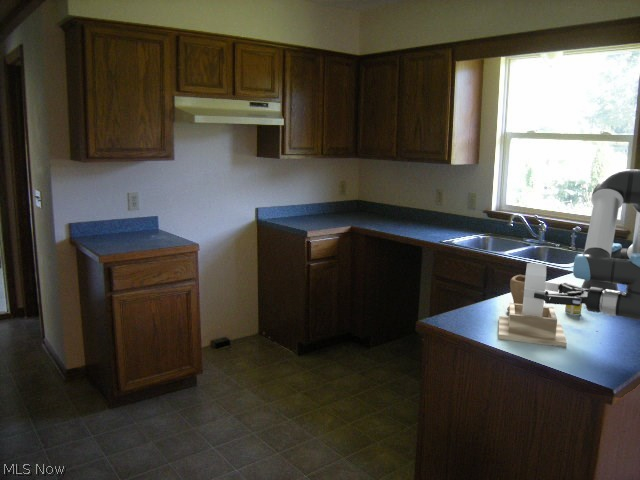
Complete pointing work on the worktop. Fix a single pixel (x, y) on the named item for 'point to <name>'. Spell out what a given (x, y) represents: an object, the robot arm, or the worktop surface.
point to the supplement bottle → (573, 310)
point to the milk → (536, 282)
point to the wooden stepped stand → (531, 327)
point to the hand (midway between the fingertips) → (531, 288)
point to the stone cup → (517, 289)
